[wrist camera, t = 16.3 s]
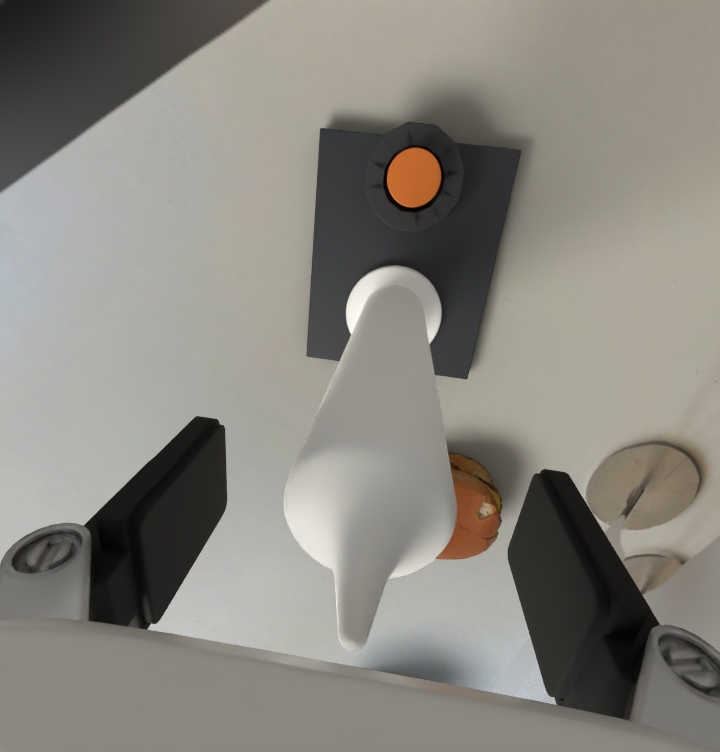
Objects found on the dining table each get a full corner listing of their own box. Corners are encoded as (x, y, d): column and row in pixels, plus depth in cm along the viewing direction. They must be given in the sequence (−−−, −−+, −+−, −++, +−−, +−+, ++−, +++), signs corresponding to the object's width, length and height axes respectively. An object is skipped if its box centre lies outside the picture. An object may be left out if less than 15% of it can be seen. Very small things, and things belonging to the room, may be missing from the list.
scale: (324, 121, 27) (314, 111, 24) (519, 142, 26) (532, 134, 23) (309, 351, 33) (300, 364, 31) (465, 373, 33) (470, 389, 30)
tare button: (392, 148, 25) (391, 144, 23) (443, 154, 24) (446, 150, 23) (384, 204, 26) (383, 204, 24) (433, 210, 26) (435, 210, 24)
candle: (437, 358, 31) (525, 779, 8) (347, 355, 32) (194, 735, 9) (444, 265, 28) (608, 503, 5) (346, 264, 29) (119, 469, 6)
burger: (371, 494, 38) (367, 529, 34) (437, 430, 35) (442, 461, 31) (448, 548, 40) (453, 589, 36) (518, 492, 36) (533, 530, 32)
